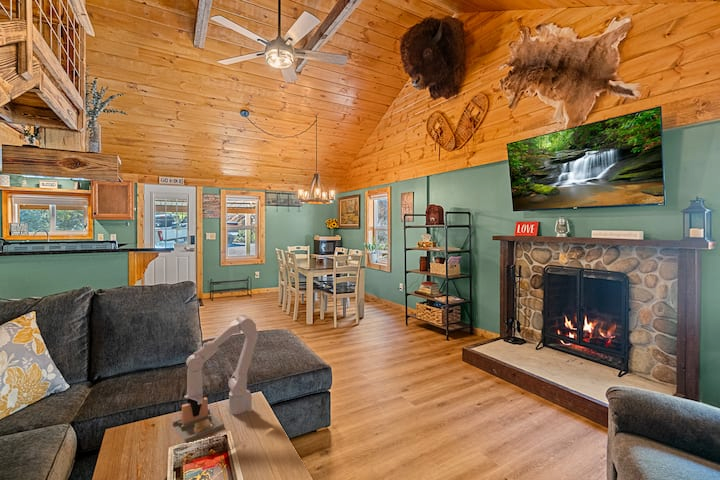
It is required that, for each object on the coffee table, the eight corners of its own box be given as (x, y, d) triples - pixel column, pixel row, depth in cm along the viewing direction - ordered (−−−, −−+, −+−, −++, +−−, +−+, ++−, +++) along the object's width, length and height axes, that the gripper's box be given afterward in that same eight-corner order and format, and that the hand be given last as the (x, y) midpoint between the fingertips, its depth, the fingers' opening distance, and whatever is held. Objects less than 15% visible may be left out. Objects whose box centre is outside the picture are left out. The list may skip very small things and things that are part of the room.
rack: (209, 413, 153) (209, 408, 153) (224, 429, 141) (224, 423, 141) (172, 427, 143) (172, 421, 143) (185, 445, 131) (185, 439, 131)
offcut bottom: (207, 425, 143) (207, 421, 143) (212, 428, 140) (212, 425, 140) (193, 431, 138) (193, 428, 138) (198, 435, 136) (198, 431, 136)
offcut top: (208, 422, 142) (208, 419, 142) (210, 426, 139) (210, 422, 139) (194, 427, 139) (194, 423, 139) (196, 431, 136) (196, 427, 136)
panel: (206, 415, 149) (206, 397, 149) (207, 416, 148) (207, 398, 148) (181, 424, 142) (181, 405, 142) (183, 425, 141) (183, 407, 141)
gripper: (179, 380, 147) (179, 411, 147) (190, 392, 137) (190, 425, 137) (196, 376, 152) (196, 405, 152) (208, 386, 141) (208, 418, 142)
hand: (195, 414), depth 145 cm, fingers closed on panel, 2 cm apart
